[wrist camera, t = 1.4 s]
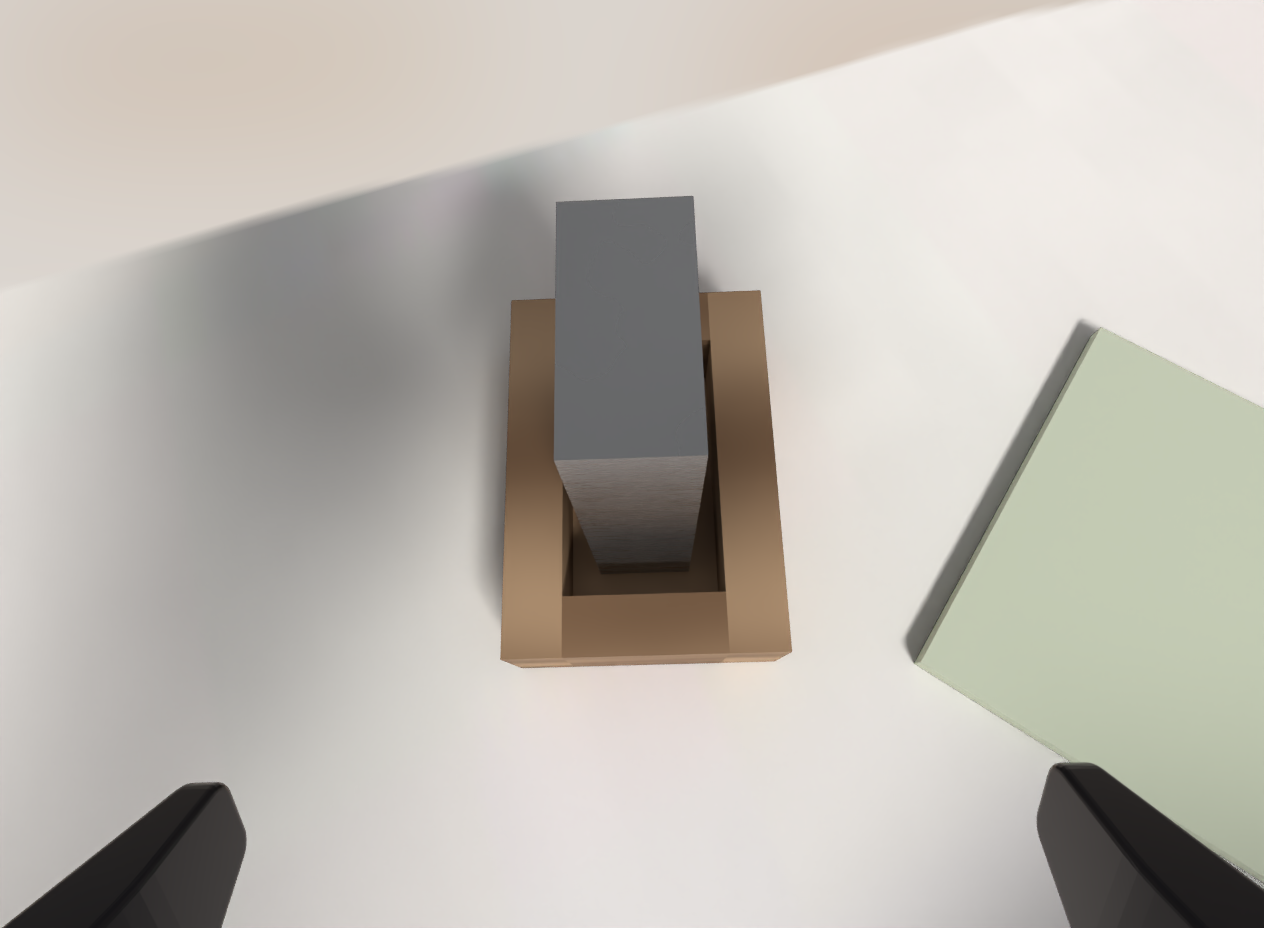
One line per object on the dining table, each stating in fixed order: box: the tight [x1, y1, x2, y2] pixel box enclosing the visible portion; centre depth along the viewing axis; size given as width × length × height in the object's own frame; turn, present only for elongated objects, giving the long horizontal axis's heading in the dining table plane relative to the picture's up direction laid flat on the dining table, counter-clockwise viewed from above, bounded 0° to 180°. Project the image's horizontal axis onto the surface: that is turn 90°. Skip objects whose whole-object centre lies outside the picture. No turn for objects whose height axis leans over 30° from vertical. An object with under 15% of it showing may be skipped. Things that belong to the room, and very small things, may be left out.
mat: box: [914, 328, 1264, 883], centre depth 21 cm, size 12×12×1 cm
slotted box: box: [500, 290, 792, 668], centre depth 22 cm, size 10×7×3 cm
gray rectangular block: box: [554, 196, 708, 574], centre depth 18 cm, size 5×2×10 cm, turn 1°
